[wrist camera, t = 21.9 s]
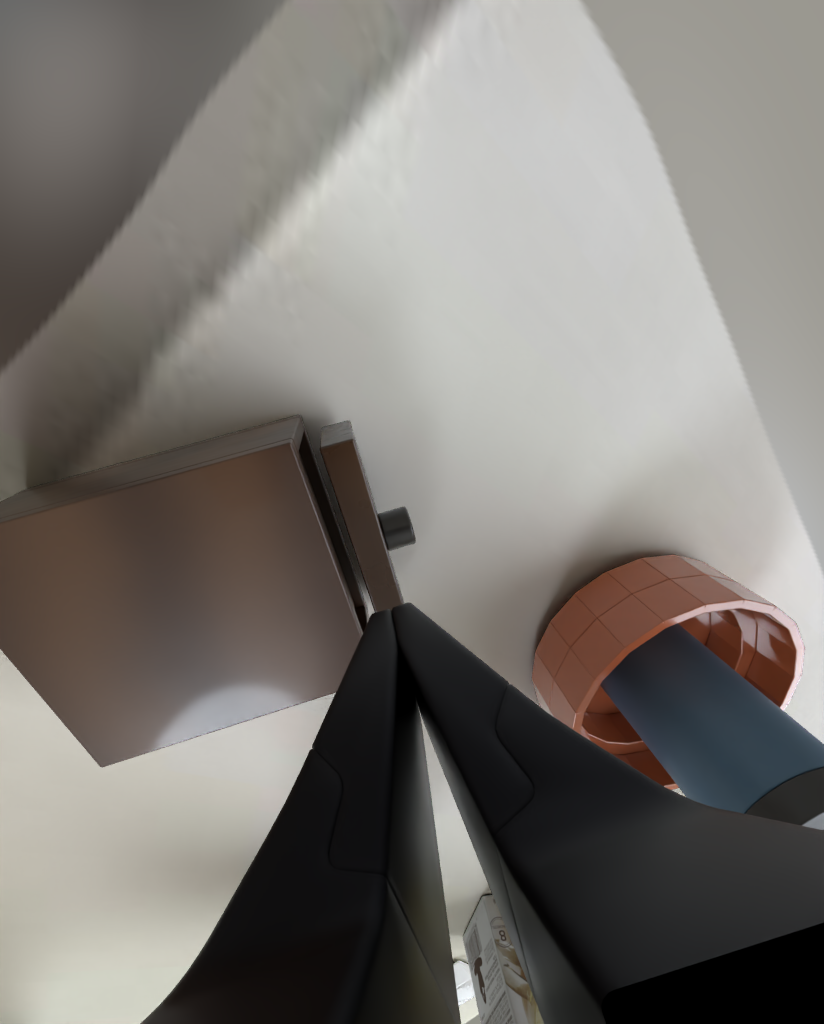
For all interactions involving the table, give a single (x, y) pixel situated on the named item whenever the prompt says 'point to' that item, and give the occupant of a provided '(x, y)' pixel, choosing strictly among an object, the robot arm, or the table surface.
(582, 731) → the bowl
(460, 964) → the butcher knife
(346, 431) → the drawer
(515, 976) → the coffee box
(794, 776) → the lidded jar
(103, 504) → the cabinet
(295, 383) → the table surface
